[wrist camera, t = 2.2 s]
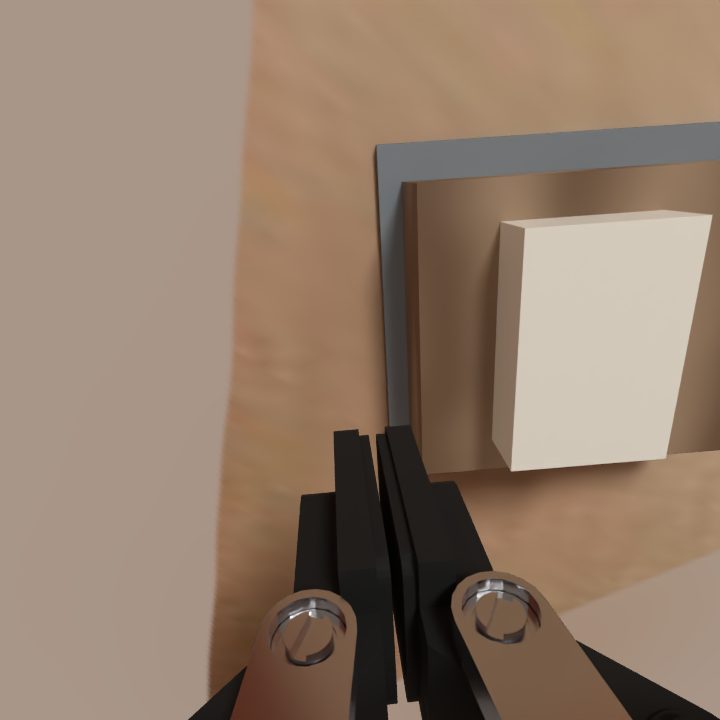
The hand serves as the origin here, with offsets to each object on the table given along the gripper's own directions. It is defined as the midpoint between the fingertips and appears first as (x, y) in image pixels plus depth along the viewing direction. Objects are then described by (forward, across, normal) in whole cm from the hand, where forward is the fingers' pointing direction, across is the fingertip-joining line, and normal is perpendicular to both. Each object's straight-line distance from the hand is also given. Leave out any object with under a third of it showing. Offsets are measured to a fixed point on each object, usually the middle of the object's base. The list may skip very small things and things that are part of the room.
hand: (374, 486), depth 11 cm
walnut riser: (+13, -10, 0) cm, 16 cm away
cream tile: (+9, -9, 0) cm, 12 cm away
